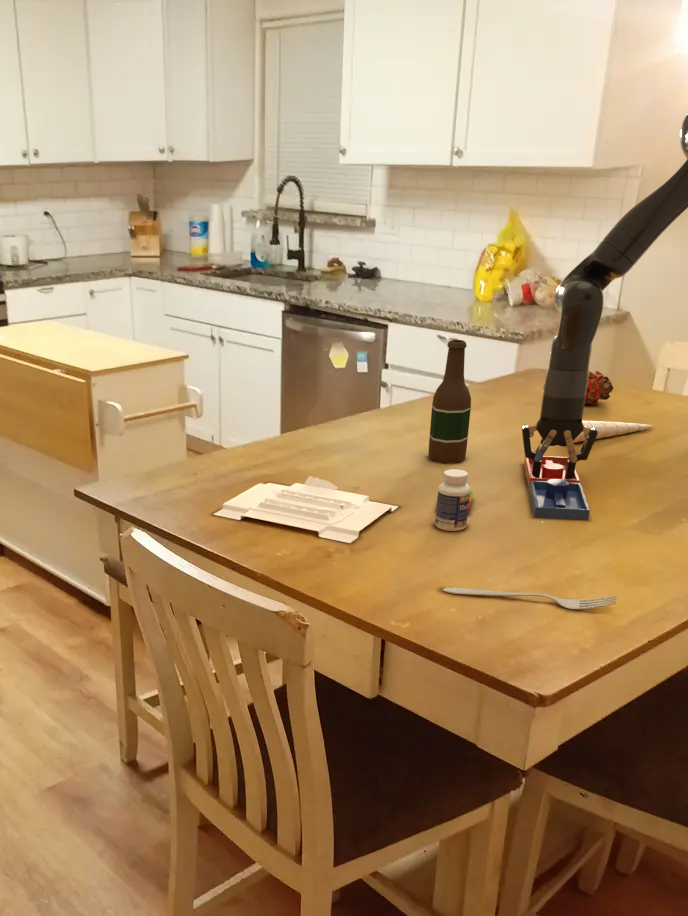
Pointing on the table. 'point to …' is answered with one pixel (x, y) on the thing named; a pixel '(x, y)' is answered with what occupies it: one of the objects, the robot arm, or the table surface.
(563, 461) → the red tray
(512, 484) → the table surface
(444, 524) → the pill bottle
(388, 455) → the table surface
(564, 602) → the fork
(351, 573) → the table surface
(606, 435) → the unicorn horn
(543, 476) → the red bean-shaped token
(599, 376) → the dragon fruit
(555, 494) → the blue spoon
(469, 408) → the beer bottle
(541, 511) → the blue tray
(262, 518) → the tray
